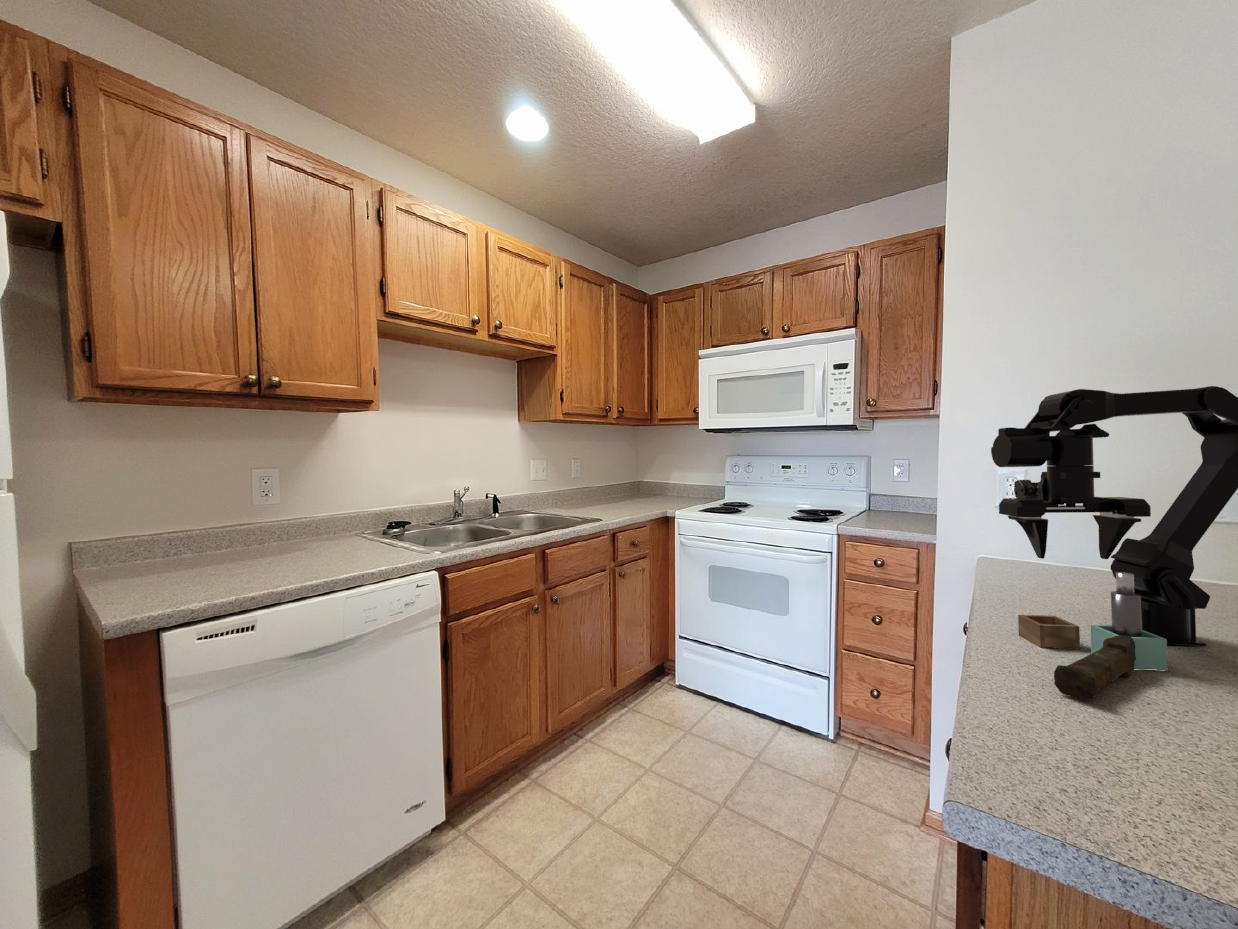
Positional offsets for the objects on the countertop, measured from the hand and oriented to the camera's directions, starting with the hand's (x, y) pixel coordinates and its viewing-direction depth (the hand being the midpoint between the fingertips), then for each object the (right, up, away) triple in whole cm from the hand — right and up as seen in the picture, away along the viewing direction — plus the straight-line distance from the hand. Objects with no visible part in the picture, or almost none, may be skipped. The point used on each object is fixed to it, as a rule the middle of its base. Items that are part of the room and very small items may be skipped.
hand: (1072, 558), depth 80 cm
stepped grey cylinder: (-2, -13, -11) cm, 17 cm away
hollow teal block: (-2, -13, -11) cm, 17 cm away
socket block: (-6, -13, -2) cm, 15 cm away
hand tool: (-12, -13, -16) cm, 24 cm away
